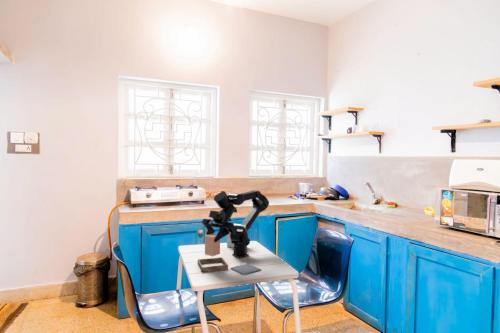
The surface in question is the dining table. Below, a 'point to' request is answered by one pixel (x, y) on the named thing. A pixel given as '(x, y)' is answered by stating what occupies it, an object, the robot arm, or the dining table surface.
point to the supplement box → (229, 243)
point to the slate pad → (245, 269)
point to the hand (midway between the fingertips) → (210, 240)
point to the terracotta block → (211, 245)
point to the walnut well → (212, 268)
